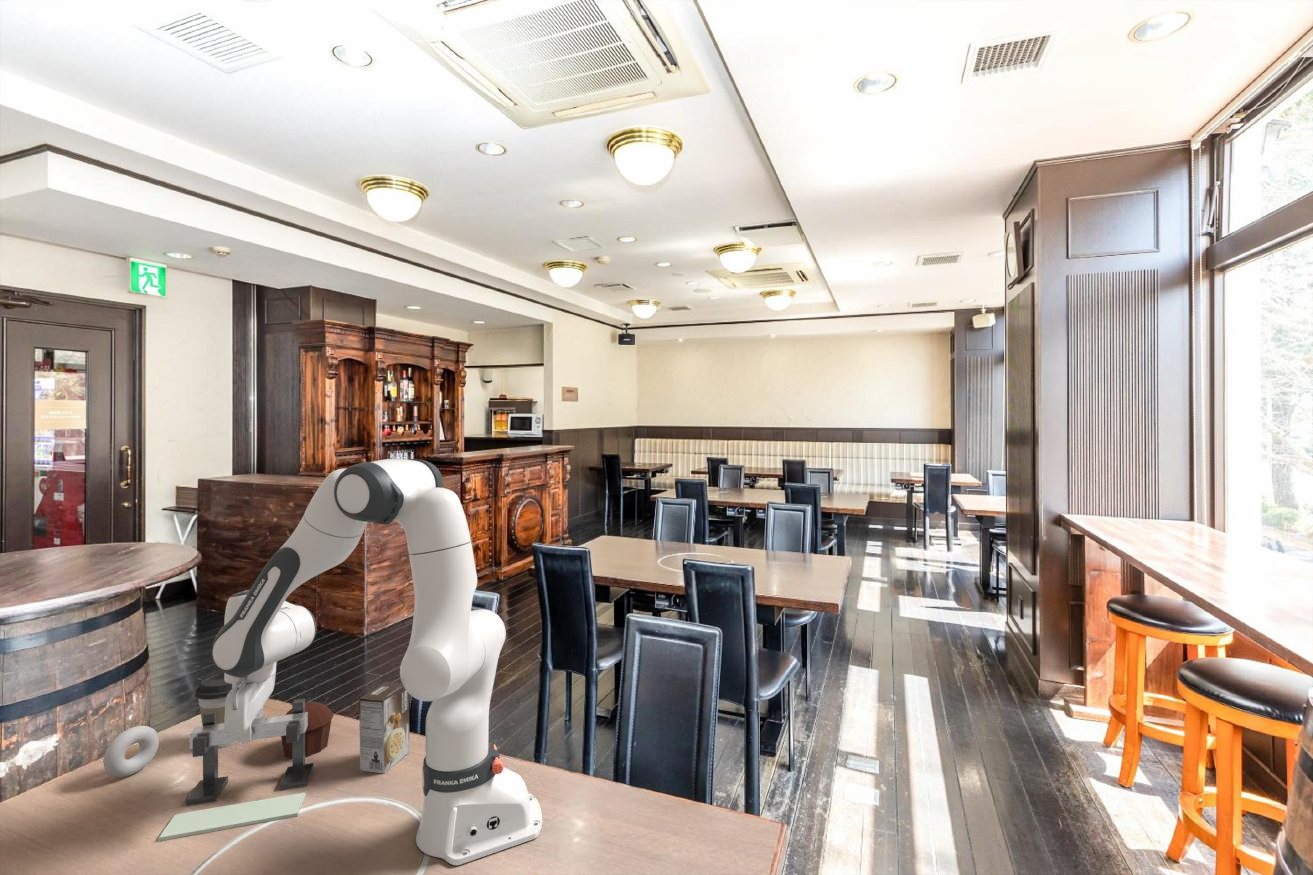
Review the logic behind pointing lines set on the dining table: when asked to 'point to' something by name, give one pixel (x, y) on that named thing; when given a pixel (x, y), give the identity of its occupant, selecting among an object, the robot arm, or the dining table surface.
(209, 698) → the coffee cup
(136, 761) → the donut
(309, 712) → the muffin
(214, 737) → the rail
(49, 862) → the dining table surface
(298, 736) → the rack
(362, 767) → the coffee box
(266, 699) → the robot arm
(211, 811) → the mat
